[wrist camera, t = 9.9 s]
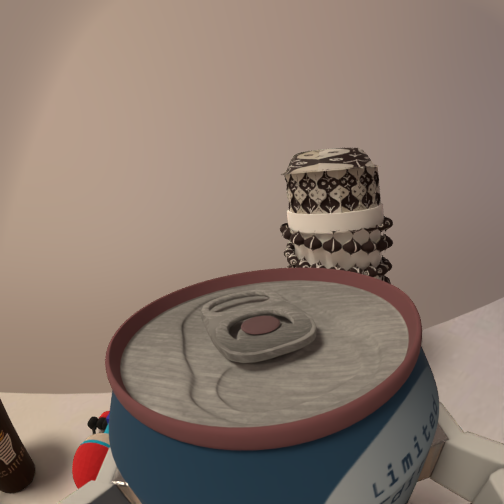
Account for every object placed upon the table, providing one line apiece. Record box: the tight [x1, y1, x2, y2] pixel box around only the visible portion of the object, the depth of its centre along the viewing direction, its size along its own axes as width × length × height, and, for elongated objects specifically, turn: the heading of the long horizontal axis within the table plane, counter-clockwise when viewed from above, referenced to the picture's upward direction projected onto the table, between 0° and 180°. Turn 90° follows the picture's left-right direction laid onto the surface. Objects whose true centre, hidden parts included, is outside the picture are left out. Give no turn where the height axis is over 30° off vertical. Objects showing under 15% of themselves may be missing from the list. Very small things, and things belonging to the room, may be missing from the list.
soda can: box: [105, 268, 439, 504], centre depth 7 cm, size 7×7×12 cm
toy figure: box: [72, 411, 110, 489], centre depth 24 cm, size 8×5×15 cm
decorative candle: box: [280, 148, 393, 284], centre depth 27 cm, size 9×9×25 cm
